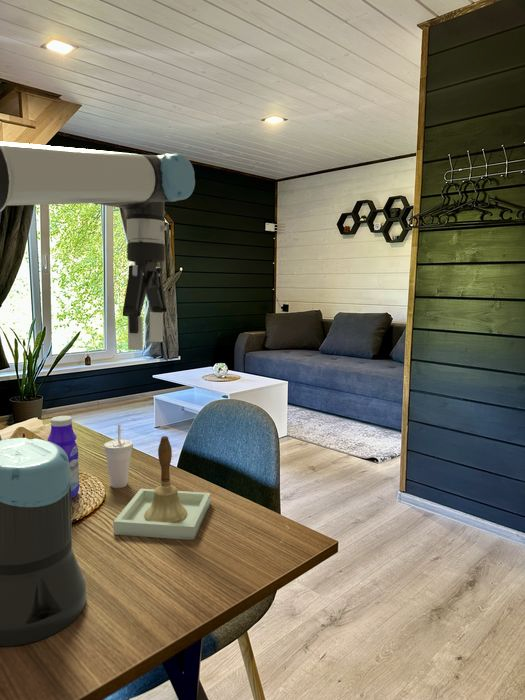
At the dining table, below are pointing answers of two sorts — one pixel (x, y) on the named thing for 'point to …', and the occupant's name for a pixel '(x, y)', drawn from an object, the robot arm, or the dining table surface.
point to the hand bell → (165, 491)
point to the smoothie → (118, 460)
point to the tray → (137, 525)
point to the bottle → (66, 446)
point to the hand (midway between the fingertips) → (146, 345)
